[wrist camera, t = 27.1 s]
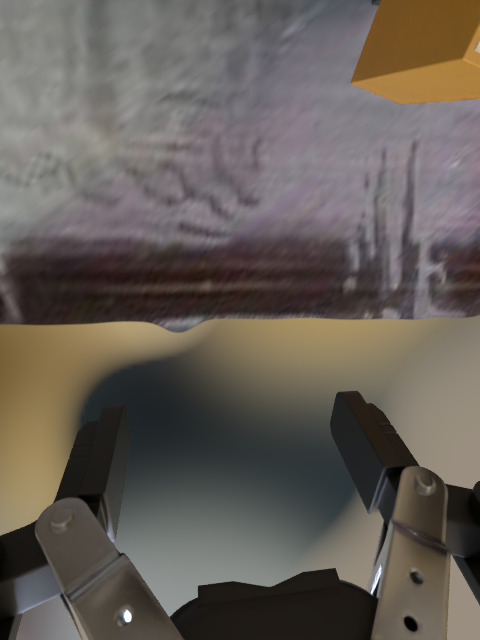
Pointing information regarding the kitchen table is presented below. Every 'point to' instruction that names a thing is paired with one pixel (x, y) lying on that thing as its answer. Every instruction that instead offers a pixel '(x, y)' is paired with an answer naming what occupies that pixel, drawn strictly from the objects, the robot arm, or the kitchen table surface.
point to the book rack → (376, 2)
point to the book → (422, 51)
